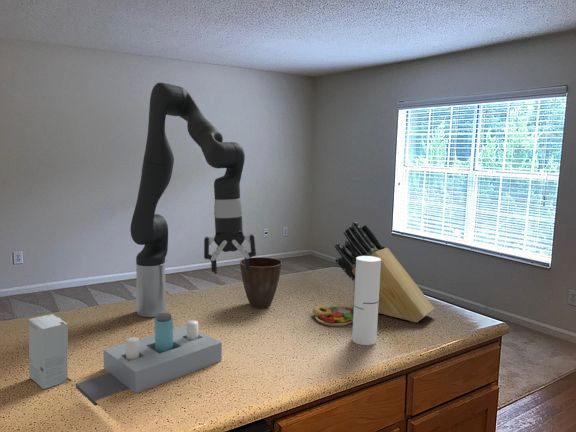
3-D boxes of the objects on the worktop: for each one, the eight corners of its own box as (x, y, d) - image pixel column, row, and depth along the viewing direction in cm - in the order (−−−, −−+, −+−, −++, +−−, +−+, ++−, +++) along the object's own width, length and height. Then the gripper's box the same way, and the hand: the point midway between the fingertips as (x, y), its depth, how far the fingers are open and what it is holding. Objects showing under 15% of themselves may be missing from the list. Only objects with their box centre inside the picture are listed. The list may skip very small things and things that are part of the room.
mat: (76, 387, 108) (75, 383, 108) (117, 374, 115) (117, 370, 115) (94, 405, 101) (94, 400, 101) (137, 389, 109) (137, 385, 108)
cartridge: (151, 364, 119) (151, 315, 117) (167, 359, 122) (166, 311, 120) (161, 370, 116) (160, 319, 114) (176, 364, 119) (176, 315, 117)
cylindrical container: (376, 346, 136) (380, 262, 133) (351, 343, 137) (355, 260, 134) (376, 337, 143) (381, 256, 139) (352, 334, 144) (356, 255, 141)
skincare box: (28, 378, 112) (25, 318, 110) (54, 370, 117) (52, 312, 115) (44, 390, 107) (41, 328, 105) (70, 381, 111) (68, 321, 109)
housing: (104, 372, 116) (103, 349, 115) (186, 345, 133) (186, 325, 132) (135, 397, 105) (135, 372, 104) (221, 364, 122) (221, 342, 121)
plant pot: (230, 303, 170) (231, 260, 167) (262, 295, 180) (263, 255, 177) (256, 315, 159) (257, 269, 156) (289, 306, 169) (290, 262, 166)
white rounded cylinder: (123, 367, 113) (123, 339, 112) (135, 363, 115) (135, 336, 114) (129, 371, 111) (129, 343, 110) (141, 367, 113) (141, 340, 112)
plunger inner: (184, 347, 125) (184, 322, 124) (194, 344, 127) (194, 319, 126) (190, 351, 123) (190, 325, 122) (200, 347, 125) (200, 322, 124)
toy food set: (310, 314, 162) (310, 305, 162) (346, 312, 165) (347, 303, 164) (320, 328, 149) (321, 319, 149) (360, 326, 152) (360, 317, 151)
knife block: (344, 296, 182) (348, 217, 178) (434, 316, 162) (441, 228, 158) (330, 303, 173) (333, 220, 169) (423, 326, 153) (429, 232, 149)
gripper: (253, 212, 134) (255, 267, 136) (202, 214, 133) (205, 270, 135) (254, 215, 127) (257, 274, 129) (201, 217, 125) (204, 277, 127)
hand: (230, 272), depth 132 cm, fingers open, 8 cm apart
